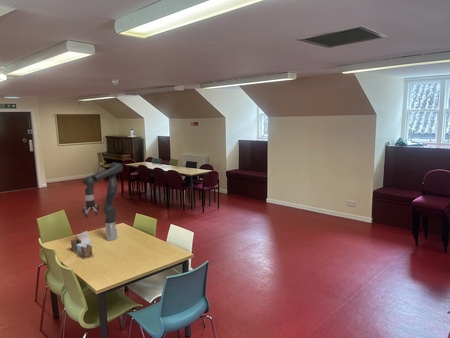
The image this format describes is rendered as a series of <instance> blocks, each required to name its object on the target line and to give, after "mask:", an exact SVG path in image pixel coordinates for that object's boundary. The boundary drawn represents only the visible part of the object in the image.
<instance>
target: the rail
mask: <svg viewBox="0 0 450 338" xmlns="http://www.w3.org/2000/svg"><path fill="white" fill-rule="evenodd" d="M81 246H83V247H87V246H85V245H83V244H82V243H79V244H76V250H77V251H78V252H79V253H81Z"/></svg>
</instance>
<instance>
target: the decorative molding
mask: <svg viewBox="0 0 450 338" xmlns="http://www.w3.org/2000/svg"><path fill="white" fill-rule="evenodd" d="M76 237H77V239H80V240H81V243H82V244H83V245H85V246H87V245H88V244H89V245H90V246H92V247H93V242H92V240H91V237H90V234H89V233H88V230H86V231H83V232H81V233H78V234H76Z"/></svg>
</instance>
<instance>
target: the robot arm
mask: <svg viewBox="0 0 450 338" xmlns="http://www.w3.org/2000/svg"><path fill="white" fill-rule="evenodd" d="M123 169H124V166H123V164H122V163H120V162H119V163H118V162H112V163H110V166H109V168H108V169H105V170H101V171H98V172H96V173H93V174H91V175H89V176H86V177H84V178H83V179H82V184H83V185H85V186H86V188H85V189H84V194H85V195H84V196H85V197H84V198H85V199H84V200H85V206H82V208H81V212H82V214H83V215H84V218H85V219H88V212H89V211H94V216H95V217H97V216H98V211H100V206H99V204H98V203H95V202H96V201H95V195H94V193H95V192H94V189H95V182H100V181H101V180H103V179H105V178H107V177H108V183H107V188H106V196H105V200H104V201H105V202H104V205H103V208H102V211H103V214H104V215H105V216H106V218H105V220H104V221H105V223H104V224H105V236H106V241H109V242H110V241H111V242H112V241H116V239H118V232H117V230H118V229H117V227H116V218H117V217H116V216H117V213H116V212H117V211H116V208H115V207H114V206H113V203H114V200H115V197H117V196H116V195H117V193H118V188H119V187H118V186H119V184H118V181H117V174H118V173H121V172H122V171H123Z"/></svg>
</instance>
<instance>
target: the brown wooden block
mask: <svg viewBox="0 0 450 338" xmlns="http://www.w3.org/2000/svg"><path fill="white" fill-rule="evenodd" d="M79 243H81V240H80V239H78V238H75V239H74V238H73V239H72V240H70V244H71V249H70V251H71V252H73V253H74V254H75V255H77V256H78V257H80V258H82V259H83V260H86V259H87V260H88V259H89V258H93V257H94V254H93V245H92V246H90V245H89V244H88V245H87V247H83V246H81V253H79V252H78V251H77V250H76V244H79Z"/></svg>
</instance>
